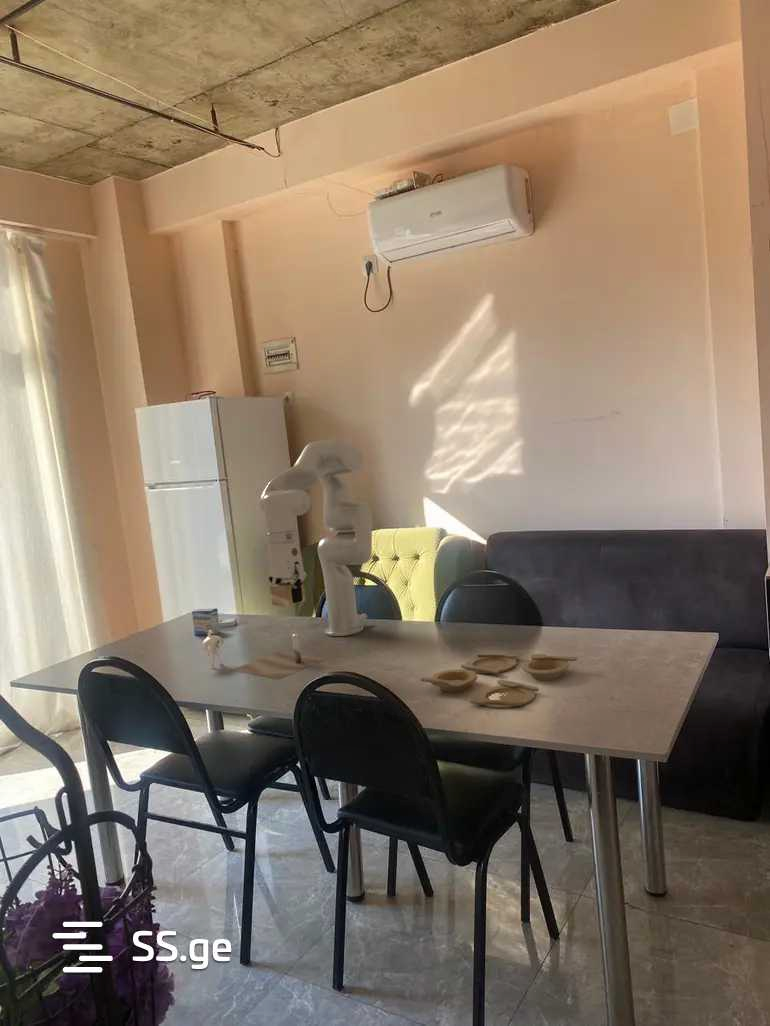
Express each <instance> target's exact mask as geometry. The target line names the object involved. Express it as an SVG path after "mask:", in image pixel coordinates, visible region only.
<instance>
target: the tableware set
mask: <svg viewBox="0 0 770 1026" xmlns="http://www.w3.org/2000/svg"><path fill="white" fill-rule="evenodd" d="M522 654H523V653H522V652H509V653H491V652H490V653H489V652H477V653H476V655H475V656H476V657H474V658H471V659H468V660H467V661H466V662H465V663H462V664H460V669H457V668H455V669H454V668H453V669H446V670H442V671H439V672H436V673H434V674H433V675H431V676H430V677H427V676H423V677H420V681H421V682H424V683H430V684H431V685H433V686H435V687H439V689H440V690H441V691H443V692H446V691H448V693H456V692H457V691H458V692H462V691H465V690H467V689H468V688H469V686H470V685H471V684H473V683H474V682H476V681H477V680H478V674H485V675H489V674H496V675H498V674H500V673H504V672H507V671H510V670H512V669H514V668H516V666H517V665H518V664H517V659H518V658H520V657H521V656H522ZM529 657H530V660H527V661H525V662H523V663H522V664H521V670H522V671H523V672H525V673H526V674H530V676H531V678H533V679H534V680H539V681H551V680H552V679H553V680H557V679H558V677H559V676H560V677H561V674H562V673H563V672H564V671H567V670H568V669H569V667H570V663H569V662H575V661H577V660H578V657H577V656H569V655H568V656H561V655H546V654H543V653H535V654H532V655H530V656H529ZM516 658H517V659H516ZM560 677H559V678H560ZM556 678H557V679H556ZM496 683H497V684H498V685H496V686H492V687H491V686H490V687H488V688H485V689H482V690H480V691H479V693H477V694H476V697H472V698H471V699H470V701H469V704H474V705H482V706H485V707H488V708H494V709H507V708H517V707H520V706H524V705H527V704H529V703H530V702H532V701H533V700H534V699H535V697H536V693H535V692H539V691H540V688H539V687H538V686H534V685H529V684H526V683H525V684H524V683H521V682H515V681H511V680H506V679H502V678H501V679H498V680H497V681H496ZM495 693H499V694H500V693H501V694H503V693H504V694H503V695H502V696H500V697H499V699H500V698H501V699H500V700H490V699H489V698H488V697H489V696H491V695H492V694H495ZM506 693H507V694H506ZM501 694H500V695H501ZM505 694H506V695H505ZM504 695H505V696H504Z"/></svg>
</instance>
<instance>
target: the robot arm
mask: <svg viewBox="0 0 770 1026" xmlns="http://www.w3.org/2000/svg"><path fill="white" fill-rule="evenodd" d="M363 465H364V456H363V453H362V450H360V448H359V447H357V446H356V445H354V444H353V443H351V442H349V441H346V440H343V439H339V438H336V439H333V438H332V439H323V440H315V441H311V442H309V443H308V444H307V445H306V446H305V447H304V448H303V450H302V452H301V453H300V454H299V457H298V459H297V460H296V462H295V463H294V465H293V466H292V467H290V468H288V469H286V470H285V471H283V472H282V473H280V474H279V475H277V476H276V477H273V479H272V480H270V481H269V482H268V484H266V487H265V488H264V490H263V492H262V494H261V496H260V502H259V506H260V507H259V508H260V511H261V512H262V514H263V515H264V520H265V529H266V535H267V536H266V537H267V550H266V551H267V552H266V553H267V554H266V555H267V567H268V568H267V570H266V571H265V576H266V577H267V578H268V580H269V582H270V583H271V585H275V584H278V583H281V582H283V580H288V581H290V582H291V585H292V587H293V589H291V591H292V599H293V603H297V602H300V601H302V600H303V598H302V590H301V587H302V586H303V582H305V580H306V578H307V576H308V575H307V573H306V572H305V570H304V563H303V562H304V561H303V558H302V553H301V549H300V546H299V543H298V541H296V533H295V528H294V526H295V525H294V517H296V516H297V517H298V516H302V515H305V514H306V513H307V512H308V511H309V510H310V507H311V497H310V495H309V494H308V492H307V491H306V490H307V489H310V488H312V487H314V486H315V485H316V484H317V483H318V482H320V484H321V486H322V490H323V511H322V513H323V514H322V515H323V516H322V519H323V526H324V527H323V528H324V529H325V530H326V531H328V532H330V533H346V532H349V533H350V532H354V534H348V535H347V534H344V535H343V534H342V535H331V536H326V537H323V538H322V539H321V540H320V541H319V542H318V544H317V554H318V558H319V562H320V565H321V571H322V575H323V582H324V589H325V600H326V607H327V608H326V609H327V617H328V624H329V625H328V627H326V628H325V629H324V633H325V635H327V636H329V637H330V636H331V637H344V636H345V637H346V636H352V635H355V634H359V633H361V632H362V631H363V630H364V625H363V624H362V623H361V622H362V621H364V620H366V619H368V615H367V614H366V613H361V614H358V609H357V601H356V593H355V591H356V590H355V582H354V576H353V574H352V572H351V571H350V568H348V566H351V565H352V566H353V565H364V564H366V563H368V562H369V561H370V559H371V557H372V552H373V551H372V549H373V548H372V547H373V543H372V542H373V540H372V539H373V517H372V512H371V509H370V506H369V505H368V504H367V503H366V502H364V501H351V502H350V487H349V485H348V483H347V482H346V481H345V480H344V479H343V477H341V475H344V474H346V475H347V474H354V473H355V474H356V473H358V472H359V471H361V469H362V468H363ZM295 581H296V582H295Z"/></svg>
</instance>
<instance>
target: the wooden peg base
mask: <svg viewBox="0 0 770 1026" xmlns="http://www.w3.org/2000/svg"><path fill="white" fill-rule="evenodd" d="M291 639H292V645H293V653H286V652H280V651H277V652H275V653H273V654H272V653H271V654H270V655H266V656H265V657H262V658H259V659H256V660H254V661H251V662H248V663H246V664H243V665H240V666H239V667H236V668H232V669H230V671H233V672H237V673H240V674H241V673H242V674H246V675H247V674H248V675H253V676H257V677H263V678H268V679H272V680H273V679H274V680H281V679H284V678H285V677H288V676H291V675H292V674H295V673H299V672H300V671H302V670H305V669H307V668H310V667H312V666H314V665H317V664H319V663H321V662H324V661H326V659H325V658H324V659H323V658H318V657H311V656H305V655H302V654H301V653H302V651H301V646H300V645H301V644H300V636H299V633H293V634H291Z"/></svg>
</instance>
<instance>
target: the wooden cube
mask: <svg viewBox="0 0 770 1026" xmlns="http://www.w3.org/2000/svg"><path fill="white" fill-rule="evenodd" d="M294 581H295V582H296V580H294ZM304 582H305V581H304ZM304 582H303V586H302V587H301V590H302V598H303V600H302V601H300V602H297V603H293V599H292V591H291V589H293V587H292V585H291V582H290V580H285V581H282V582H281V583H278V584H275V585H272V584H271V585H269V588H270V597H271V604H272V605H271V606H276V607H277V606H278V607H284V608H286V607H287V608H288V607H291V606H295V605H298V604H301V603H304V602H306V601H307V599H306V592H305V584H304Z"/></svg>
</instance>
